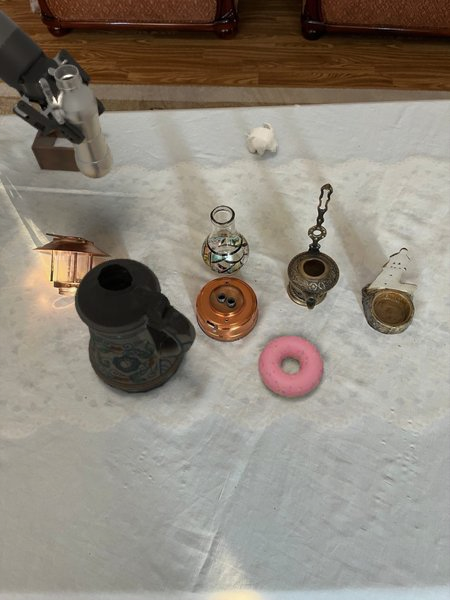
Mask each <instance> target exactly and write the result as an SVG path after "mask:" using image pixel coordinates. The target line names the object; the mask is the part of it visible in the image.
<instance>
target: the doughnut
mask: <svg viewBox="0 0 450 600" xmlns="http://www.w3.org/2000/svg"><path fill="white" fill-rule="evenodd" d="M287 358H288V359H289V358H292V359H294V360H296V361H298V363H299V365H300V366H299V370H298V371H296V372H292V373H288V372H285V370H283V368H282V361H283V360H284V359H287ZM257 361H258V362H257V363H258V364H257V367H258V373H259V375H260V379H261V380H262V382H263V383H264V384H265V386H266V387H267V388H268V389H270V390H271V391H272V392H273V393H275V394H277V395H280V396H282V397H287V398H295V397H300V396H304V395H306V394H308V393H311V391H313V390H314V389H315V388H317V386H318V385H319V383H320V382H321V380H322V377H323V374H324V360H323V358H322V354H321V352H320V351H319V350H318V349H317V346H315V345H314V344H313V343H312V342H310V340H307V339H306V338H303V337H302V336H299V335H282V336H278V337H274V339H272V340H271V341H269V342H268V343H267V344H266V345H265V346H264V347H263V348H262V351H261V352H260V354H259V357H258V360H257Z"/></svg>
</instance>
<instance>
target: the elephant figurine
mask: <svg viewBox="0 0 450 600" xmlns="http://www.w3.org/2000/svg"><path fill="white" fill-rule="evenodd" d="M262 126H263V127H262ZM262 126H257V127H255V128H253V129H252V130H251V132H250V133H249V134H248V133H246V132H244V134H245V135H246V136H247V139H246V145H247V148H248V150H249V152H250V153H252V154H253V153H256V152H257V155H259V156H263V155H264V154H265V151H269V152H271V153H275V152H276V151H277V150H278V149H277V148H278V146H279V145H278V141H277V138H276V134H275V129H274V127H273V125H271V124H270V123H268V122H263V123H262Z"/></svg>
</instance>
